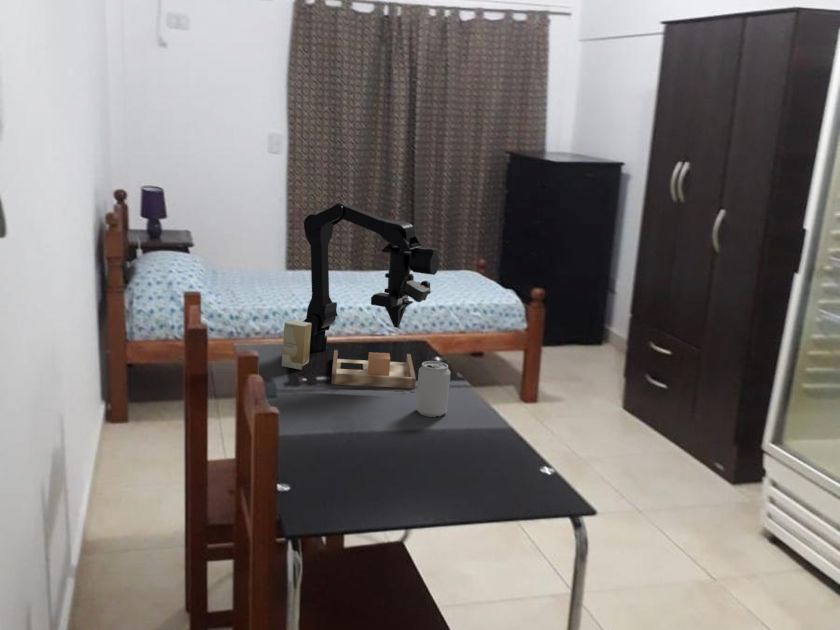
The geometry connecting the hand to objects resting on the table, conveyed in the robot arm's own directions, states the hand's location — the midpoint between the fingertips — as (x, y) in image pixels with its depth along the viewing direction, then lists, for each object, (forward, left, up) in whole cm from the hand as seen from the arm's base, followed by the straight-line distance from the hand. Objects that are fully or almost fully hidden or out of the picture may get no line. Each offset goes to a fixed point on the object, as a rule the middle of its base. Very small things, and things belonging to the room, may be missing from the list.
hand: (396, 327), depth 231 cm
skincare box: (-26, -2, -12) cm, 29 cm away
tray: (-6, -8, -12) cm, 15 cm away
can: (+8, -33, -12) cm, 36 cm away
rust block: (-4, -7, -11) cm, 13 cm away
